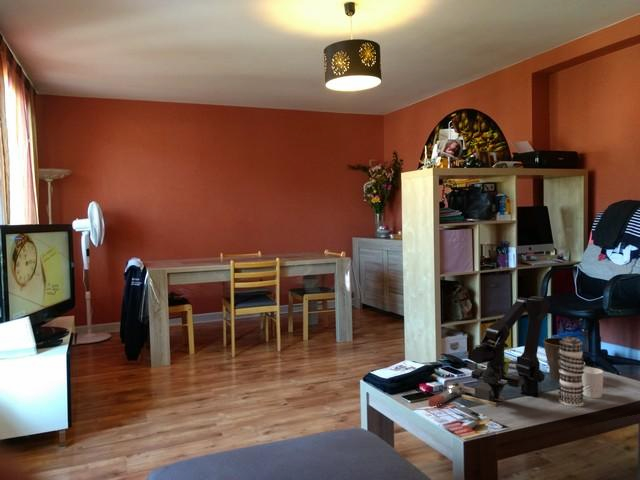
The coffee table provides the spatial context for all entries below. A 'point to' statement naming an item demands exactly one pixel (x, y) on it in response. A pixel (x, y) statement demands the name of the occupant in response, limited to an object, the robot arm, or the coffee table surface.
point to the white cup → (592, 382)
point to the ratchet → (450, 393)
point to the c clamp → (512, 363)
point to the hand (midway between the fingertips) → (497, 399)
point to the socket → (484, 393)
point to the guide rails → (481, 400)
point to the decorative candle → (571, 372)
